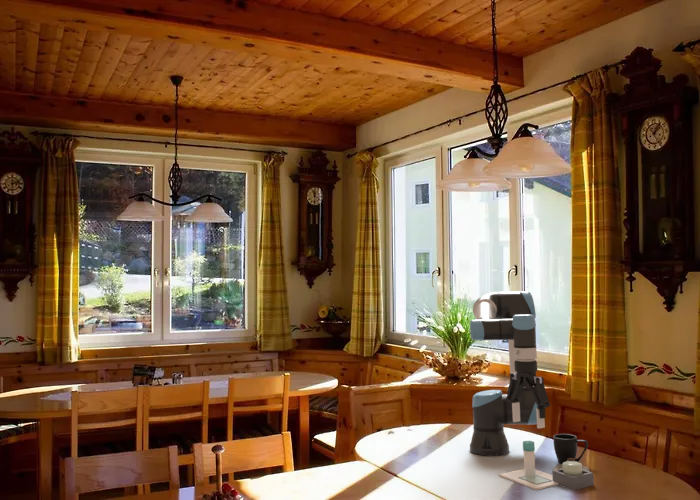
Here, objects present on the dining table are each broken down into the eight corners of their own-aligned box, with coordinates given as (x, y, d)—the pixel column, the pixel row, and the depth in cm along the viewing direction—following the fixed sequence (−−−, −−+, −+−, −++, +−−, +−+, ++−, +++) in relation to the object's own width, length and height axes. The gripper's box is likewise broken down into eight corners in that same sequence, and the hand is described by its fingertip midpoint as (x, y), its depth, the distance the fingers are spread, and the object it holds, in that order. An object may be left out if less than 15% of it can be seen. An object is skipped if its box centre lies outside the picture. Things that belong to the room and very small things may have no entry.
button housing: (552, 482, 214) (552, 470, 214) (572, 478, 218) (572, 466, 218) (573, 490, 206) (573, 477, 206) (593, 485, 210) (593, 472, 210)
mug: (584, 468, 228) (583, 441, 228) (551, 464, 235) (549, 437, 236) (591, 463, 235) (590, 436, 235) (559, 458, 242) (557, 432, 242)
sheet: (499, 475, 223) (499, 473, 223) (530, 469, 230) (530, 467, 230) (536, 490, 207) (536, 487, 207) (568, 482, 214) (568, 480, 214)
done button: (559, 475, 213) (558, 463, 214) (572, 472, 216) (571, 460, 216) (573, 480, 208) (572, 467, 208) (586, 477, 211) (585, 464, 211)
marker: (521, 475, 220) (520, 441, 221) (531, 474, 222) (529, 440, 222) (528, 478, 217) (527, 444, 217) (538, 477, 218) (536, 442, 219)
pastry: (585, 479, 218) (584, 465, 218) (549, 474, 225) (548, 461, 225) (592, 469, 228) (592, 456, 229) (558, 465, 235) (557, 452, 235)
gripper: (494, 357, 230) (497, 420, 229) (542, 364, 209) (545, 432, 208) (510, 355, 233) (513, 417, 232) (559, 362, 213) (562, 429, 212)
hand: (528, 424), depth 220 cm, fingers open, 11 cm apart
